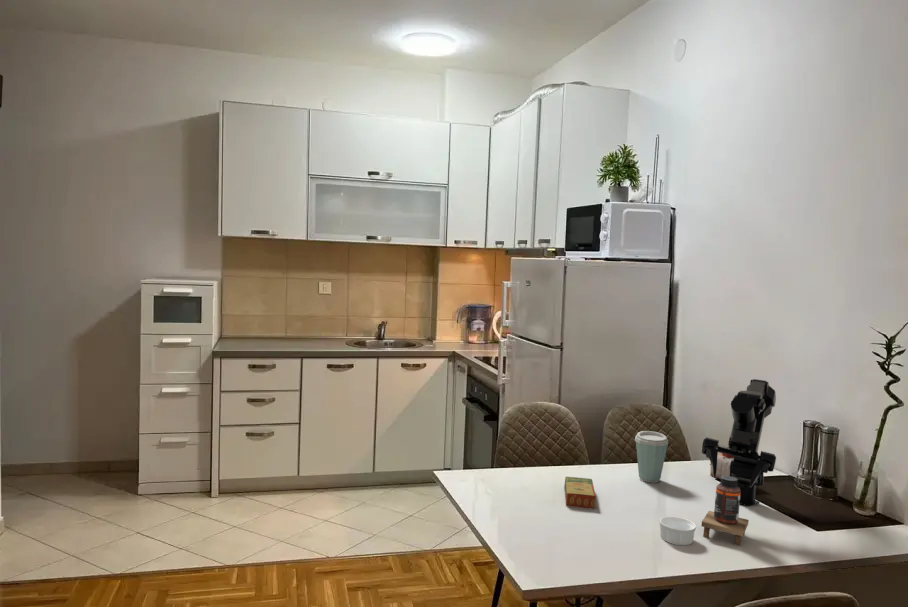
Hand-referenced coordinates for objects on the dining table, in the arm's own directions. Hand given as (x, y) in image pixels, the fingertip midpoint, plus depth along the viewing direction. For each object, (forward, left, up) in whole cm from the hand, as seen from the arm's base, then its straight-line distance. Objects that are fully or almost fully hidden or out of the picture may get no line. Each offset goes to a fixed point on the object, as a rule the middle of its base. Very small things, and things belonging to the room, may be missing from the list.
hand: (732, 481), depth 184 cm
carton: (+25, -32, -13) cm, 43 cm away
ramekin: (+21, +1, -13) cm, 25 cm away
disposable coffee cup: (-9, -37, -12) cm, 40 cm away
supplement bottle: (+7, +4, -8) cm, 12 cm away
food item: (-36, -27, -12) cm, 46 cm away
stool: (+7, +4, -12) cm, 15 cm away
